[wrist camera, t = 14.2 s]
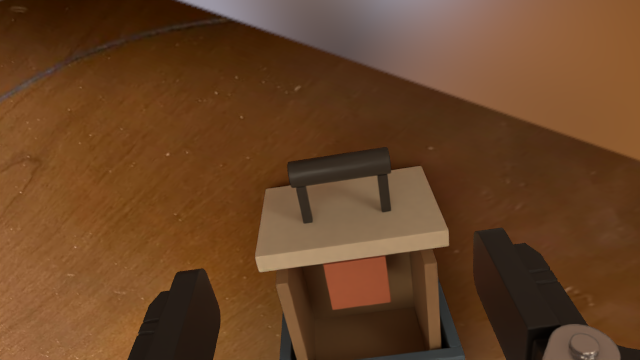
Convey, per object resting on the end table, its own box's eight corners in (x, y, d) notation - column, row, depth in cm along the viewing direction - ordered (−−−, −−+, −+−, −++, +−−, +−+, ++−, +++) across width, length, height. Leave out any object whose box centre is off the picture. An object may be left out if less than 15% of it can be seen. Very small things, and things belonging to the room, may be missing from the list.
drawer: (251, 136, 32) (236, 196, 26) (417, 109, 32) (446, 165, 25) (299, 318, 41) (297, 399, 34) (429, 301, 40) (453, 380, 34)
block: (321, 228, 35) (322, 265, 31) (377, 220, 35) (385, 256, 31) (330, 270, 37) (332, 310, 33) (383, 263, 37) (391, 302, 33)
